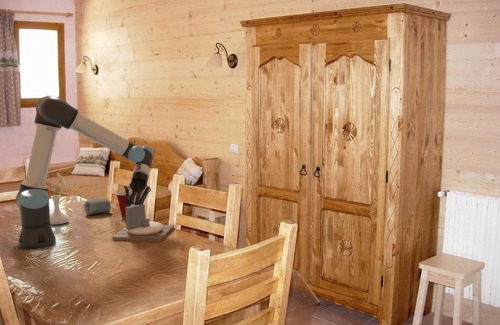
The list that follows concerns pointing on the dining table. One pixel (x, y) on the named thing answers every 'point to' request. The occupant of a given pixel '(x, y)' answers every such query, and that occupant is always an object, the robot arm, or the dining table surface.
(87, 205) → the rolled towel
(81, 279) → the dining table surface
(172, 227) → the dial plate
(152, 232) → the dial
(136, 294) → the dining table surface
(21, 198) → the robot arm
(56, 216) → the flower in vase
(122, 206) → the plastic cup
